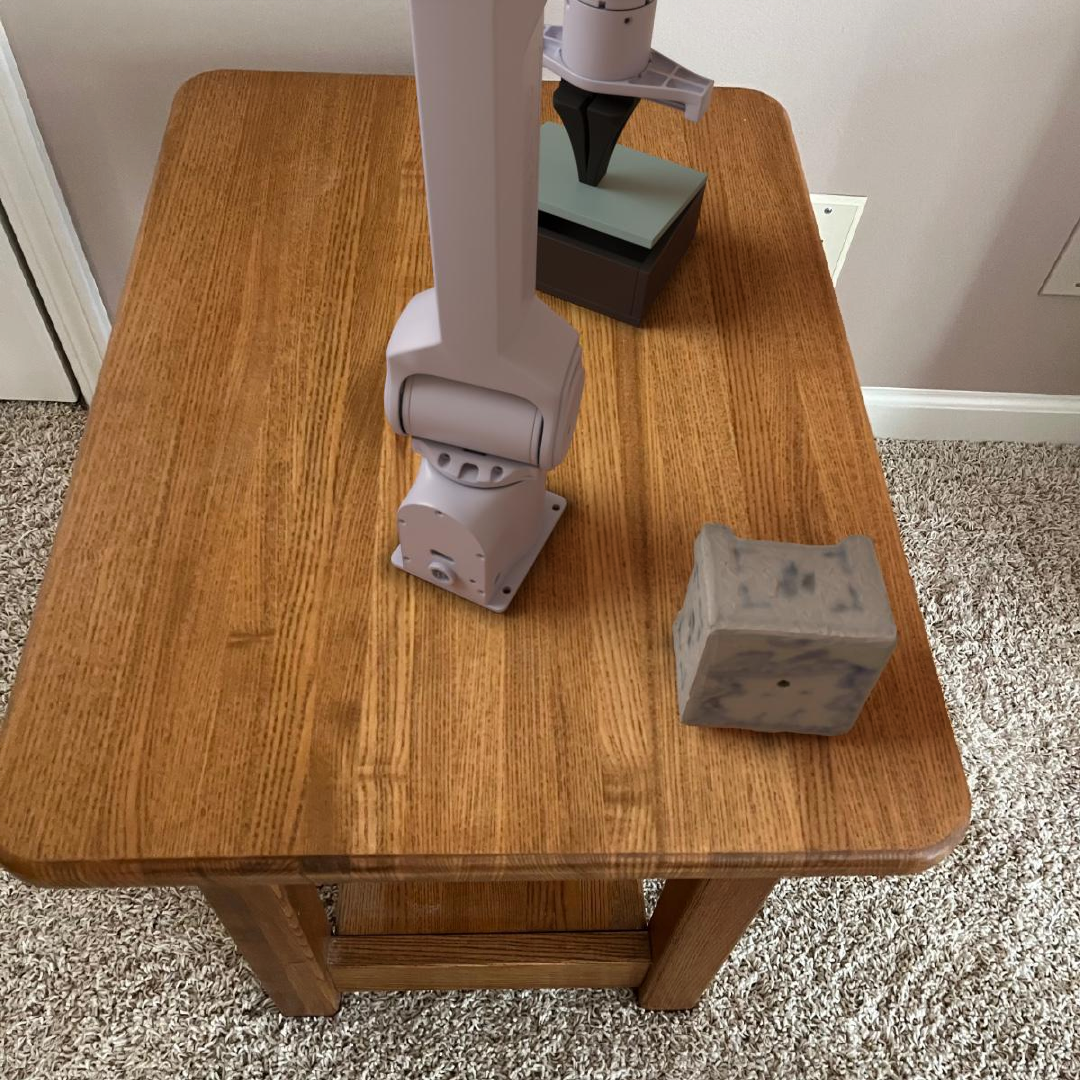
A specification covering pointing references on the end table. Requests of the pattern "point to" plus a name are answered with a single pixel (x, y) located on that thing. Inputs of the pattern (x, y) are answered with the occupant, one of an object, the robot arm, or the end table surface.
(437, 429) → the robot arm
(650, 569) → the end table surface
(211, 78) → the end table surface
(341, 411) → the end table surface
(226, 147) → the end table surface
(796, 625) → the incense holder
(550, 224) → the case
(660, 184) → the lid
